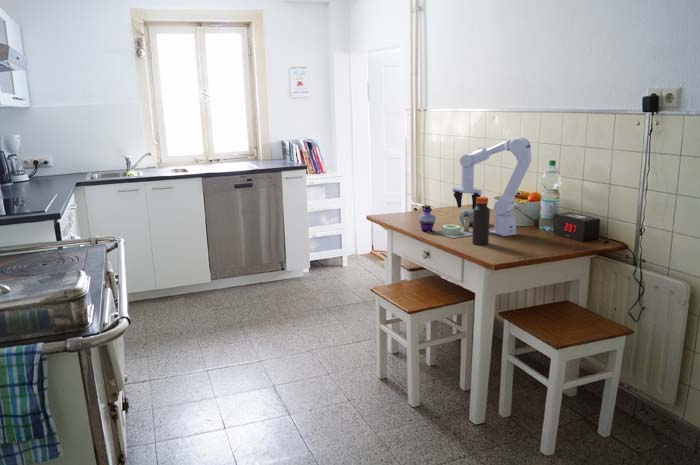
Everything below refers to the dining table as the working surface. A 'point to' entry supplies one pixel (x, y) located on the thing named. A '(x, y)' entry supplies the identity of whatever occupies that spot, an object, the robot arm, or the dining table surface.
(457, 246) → the dining table surface
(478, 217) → the vinegar
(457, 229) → the bead
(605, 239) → the dining table surface
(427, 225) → the potion bottle
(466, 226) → the wooden dowel
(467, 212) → the yarn skein
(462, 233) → the mat
